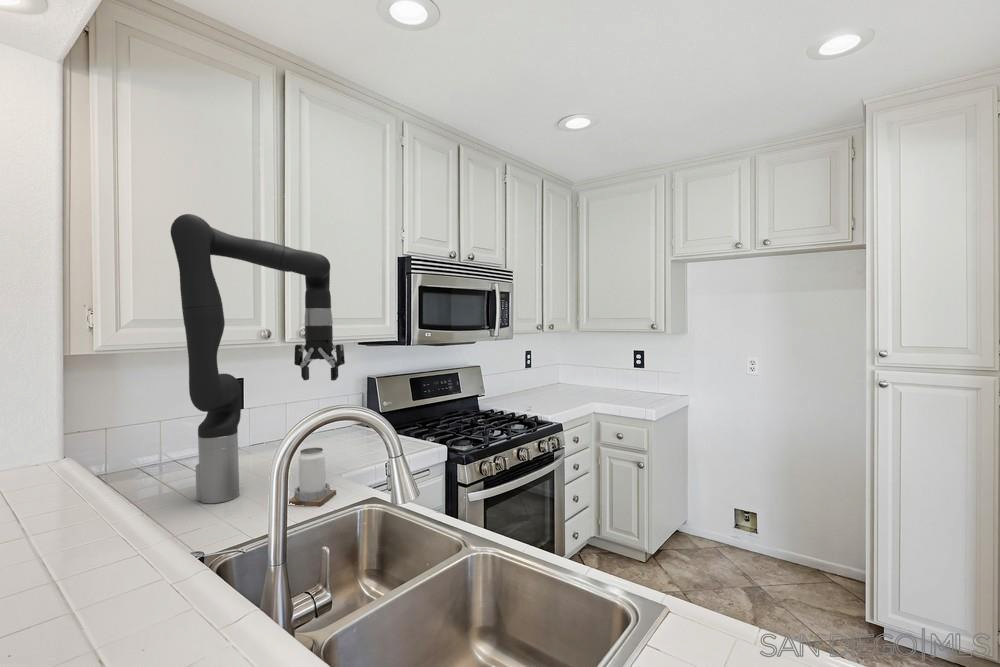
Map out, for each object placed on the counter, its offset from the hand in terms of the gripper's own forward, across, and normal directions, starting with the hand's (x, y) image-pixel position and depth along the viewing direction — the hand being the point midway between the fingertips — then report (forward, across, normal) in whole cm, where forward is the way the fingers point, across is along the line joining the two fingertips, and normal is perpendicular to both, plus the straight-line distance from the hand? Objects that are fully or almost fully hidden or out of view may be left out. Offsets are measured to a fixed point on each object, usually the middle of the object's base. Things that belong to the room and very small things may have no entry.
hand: (320, 380), depth 141 cm
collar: (+29, +4, -13) cm, 32 cm away
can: (+29, +4, -13) cm, 32 cm away
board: (+30, +4, -13) cm, 33 cm away
